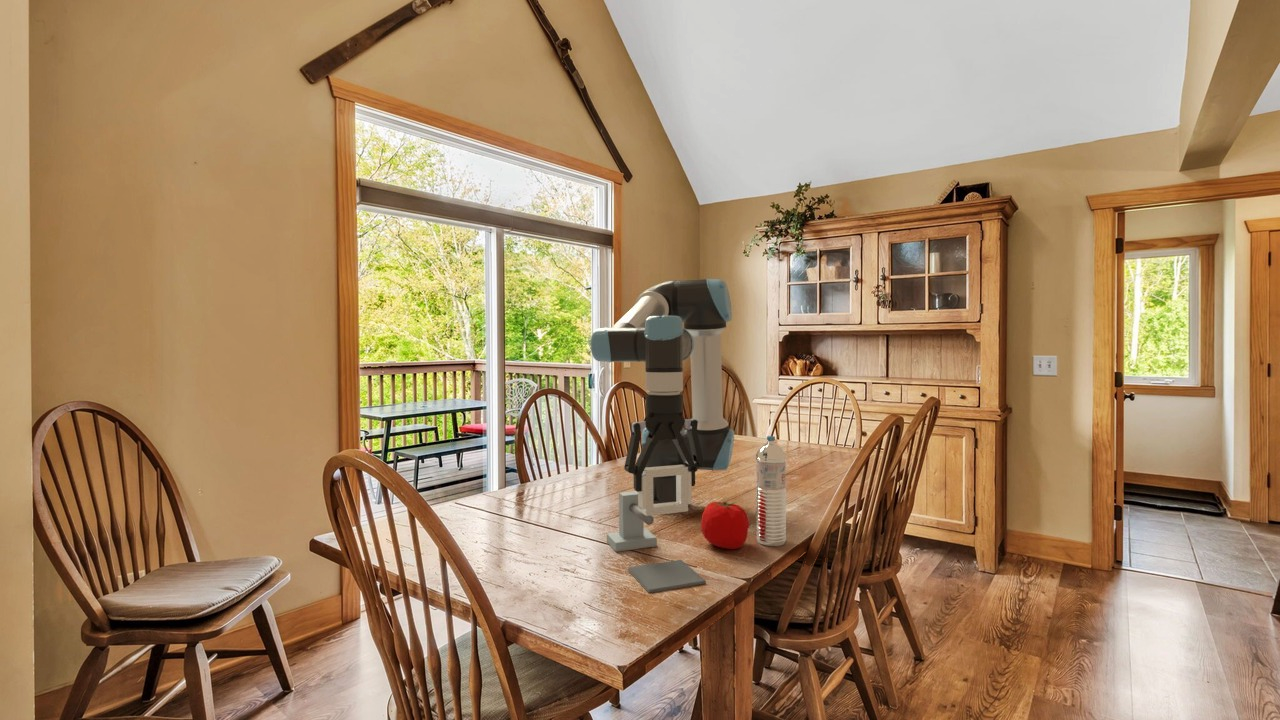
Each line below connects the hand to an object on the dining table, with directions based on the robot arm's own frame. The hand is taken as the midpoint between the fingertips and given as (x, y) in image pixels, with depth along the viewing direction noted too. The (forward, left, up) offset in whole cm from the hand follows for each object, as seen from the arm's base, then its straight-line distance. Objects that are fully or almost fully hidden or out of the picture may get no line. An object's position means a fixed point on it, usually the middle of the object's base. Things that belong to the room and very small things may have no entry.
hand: (665, 504), depth 121 cm
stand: (0, -17, -15) cm, 22 cm away
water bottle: (-31, -10, -15) cm, 36 cm away
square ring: (0, 0, -1) cm, 1 cm away
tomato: (-20, -12, -15) cm, 28 cm away
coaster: (0, 0, -15) cm, 15 cm away
